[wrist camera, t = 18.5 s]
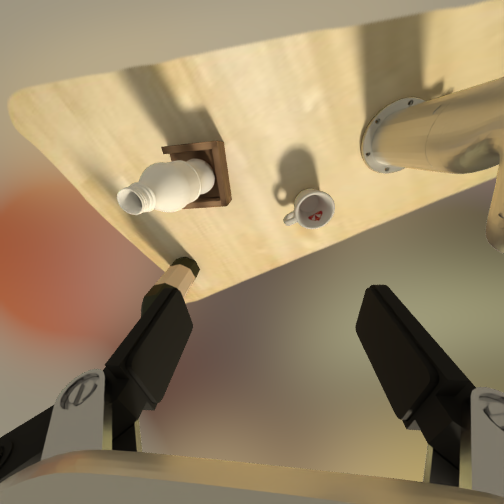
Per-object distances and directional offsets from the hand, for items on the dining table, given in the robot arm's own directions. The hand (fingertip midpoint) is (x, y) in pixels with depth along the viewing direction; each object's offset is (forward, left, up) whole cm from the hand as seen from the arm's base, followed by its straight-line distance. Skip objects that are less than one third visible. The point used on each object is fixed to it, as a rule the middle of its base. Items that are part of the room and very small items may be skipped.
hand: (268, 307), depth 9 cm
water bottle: (+13, -9, -38) cm, 41 cm away
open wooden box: (+13, -9, -38) cm, 42 cm away
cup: (-5, +8, -38) cm, 40 cm away
